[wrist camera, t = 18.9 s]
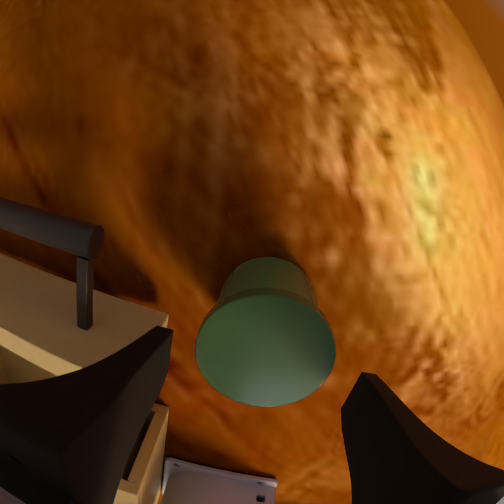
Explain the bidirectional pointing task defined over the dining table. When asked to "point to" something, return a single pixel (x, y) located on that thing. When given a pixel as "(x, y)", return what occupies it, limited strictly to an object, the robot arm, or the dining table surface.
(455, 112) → the dining table surface
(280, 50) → the dining table surface
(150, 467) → the cabinet
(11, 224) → the drawer
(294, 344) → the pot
